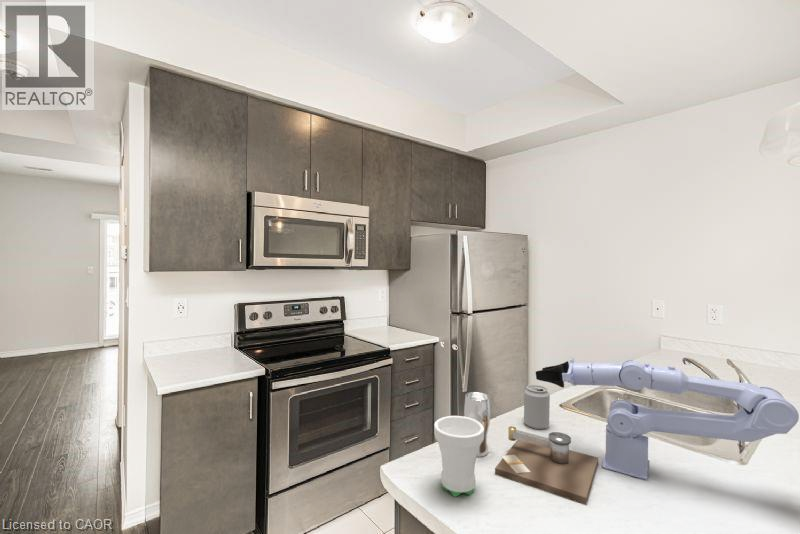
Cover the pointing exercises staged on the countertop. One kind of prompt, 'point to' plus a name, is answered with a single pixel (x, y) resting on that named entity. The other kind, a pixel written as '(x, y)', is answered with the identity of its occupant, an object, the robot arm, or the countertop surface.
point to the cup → (458, 451)
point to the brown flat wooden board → (549, 470)
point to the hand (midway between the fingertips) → (539, 373)
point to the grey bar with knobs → (545, 443)
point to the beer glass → (479, 414)
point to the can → (536, 407)
